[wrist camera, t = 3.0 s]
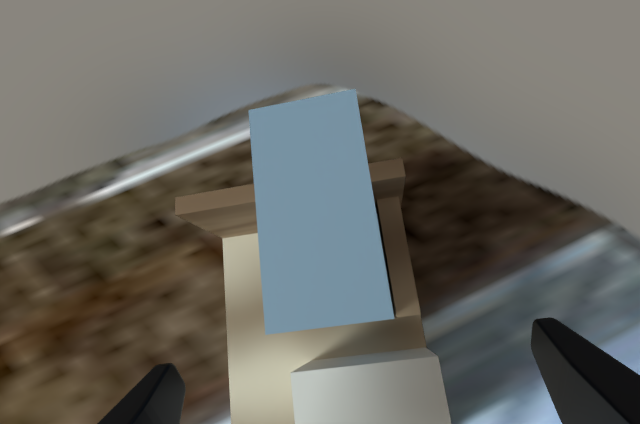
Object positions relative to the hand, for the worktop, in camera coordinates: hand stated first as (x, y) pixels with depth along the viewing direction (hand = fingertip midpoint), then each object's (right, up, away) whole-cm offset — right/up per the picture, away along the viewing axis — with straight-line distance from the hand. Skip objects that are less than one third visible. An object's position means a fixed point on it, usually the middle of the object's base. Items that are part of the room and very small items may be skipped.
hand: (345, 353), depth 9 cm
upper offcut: (+2, -5, +6) cm, 8 cm away
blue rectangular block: (+1, +1, +10) cm, 10 cm away
